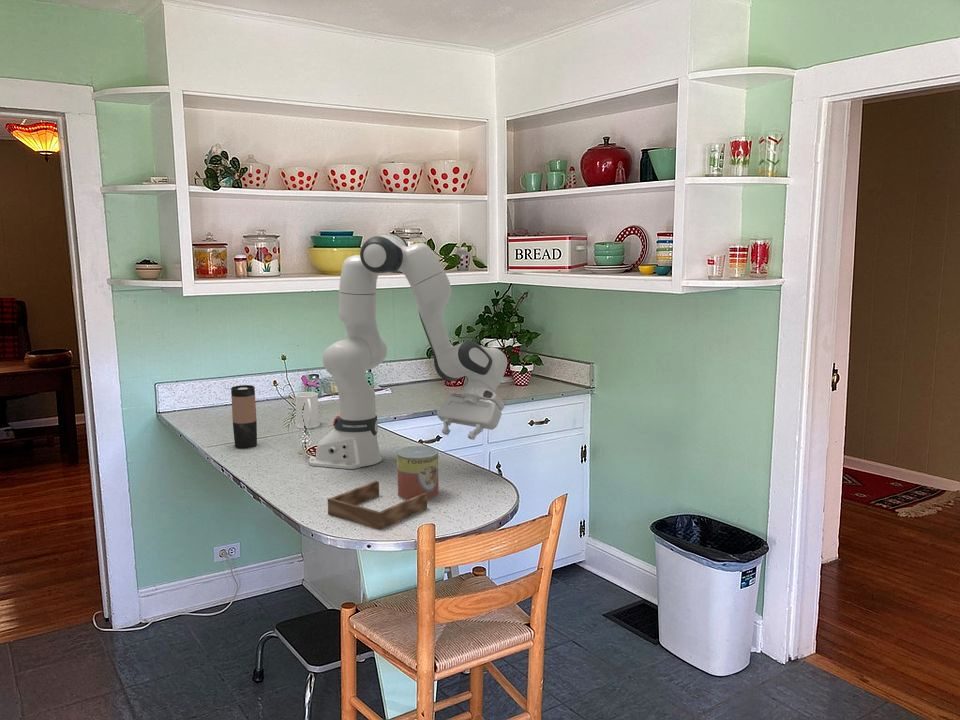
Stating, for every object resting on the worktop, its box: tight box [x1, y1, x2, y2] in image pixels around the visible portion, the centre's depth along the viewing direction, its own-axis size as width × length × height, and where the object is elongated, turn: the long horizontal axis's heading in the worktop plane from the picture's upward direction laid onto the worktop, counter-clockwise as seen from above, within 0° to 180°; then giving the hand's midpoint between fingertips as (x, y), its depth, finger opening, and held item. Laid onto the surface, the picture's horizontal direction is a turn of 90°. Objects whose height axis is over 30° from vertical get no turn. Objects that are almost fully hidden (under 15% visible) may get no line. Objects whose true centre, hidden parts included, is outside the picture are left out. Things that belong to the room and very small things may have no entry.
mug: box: [294, 391, 321, 430], centre depth 292 cm, size 12×8×12 cm
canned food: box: [396, 445, 440, 501], centre depth 220 cm, size 11×11×12 cm
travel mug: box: [230, 384, 258, 450], centre depth 267 cm, size 8×8×20 cm
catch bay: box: [327, 480, 428, 530], centre depth 207 cm, size 18×18×4 cm
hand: (457, 436), depth 233 cm, fingers open, 8 cm apart
